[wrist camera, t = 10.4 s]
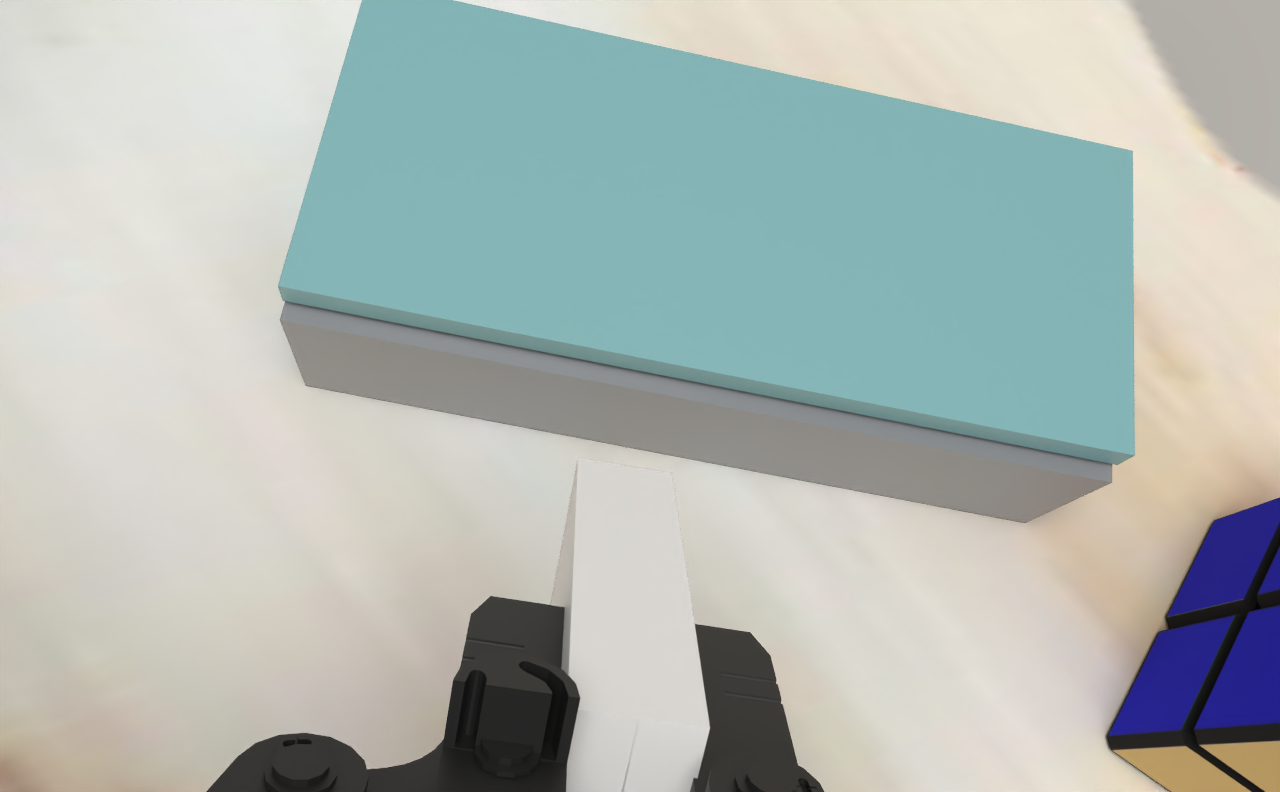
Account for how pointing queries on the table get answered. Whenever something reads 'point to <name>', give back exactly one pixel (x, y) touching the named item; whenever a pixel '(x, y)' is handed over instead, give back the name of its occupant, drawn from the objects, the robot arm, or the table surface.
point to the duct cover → (723, 227)
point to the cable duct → (681, 417)
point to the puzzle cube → (1214, 669)
